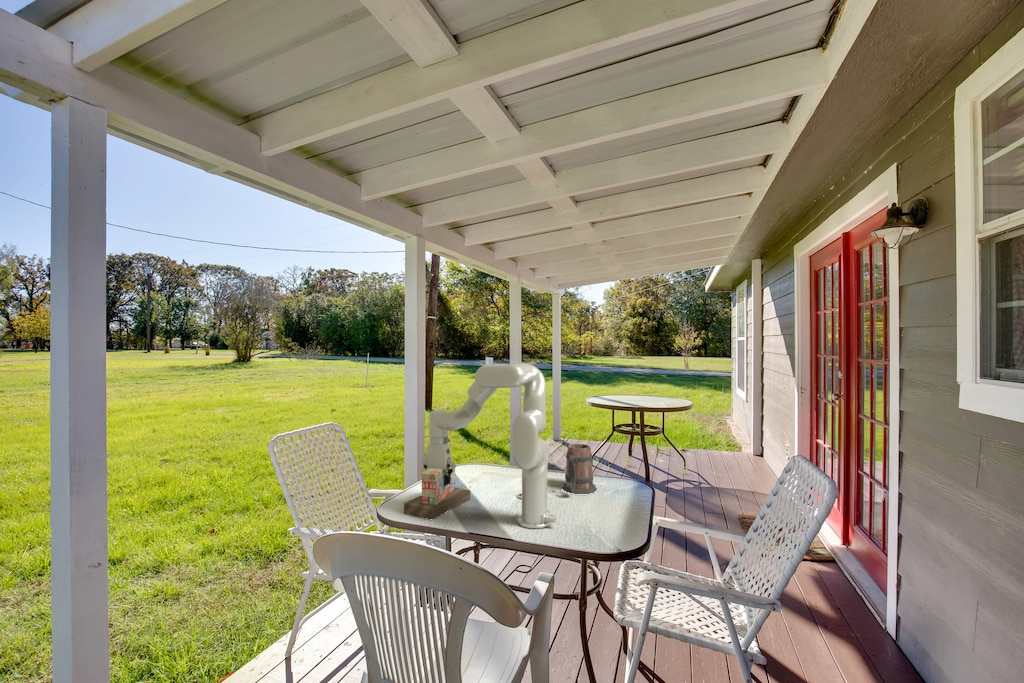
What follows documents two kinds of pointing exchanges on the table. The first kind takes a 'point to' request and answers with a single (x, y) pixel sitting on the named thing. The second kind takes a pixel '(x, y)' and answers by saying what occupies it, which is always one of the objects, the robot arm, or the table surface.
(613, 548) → the table surface
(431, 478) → the stack of blocks
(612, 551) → the table surface
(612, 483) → the table surface
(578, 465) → the tankard
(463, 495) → the plinth
